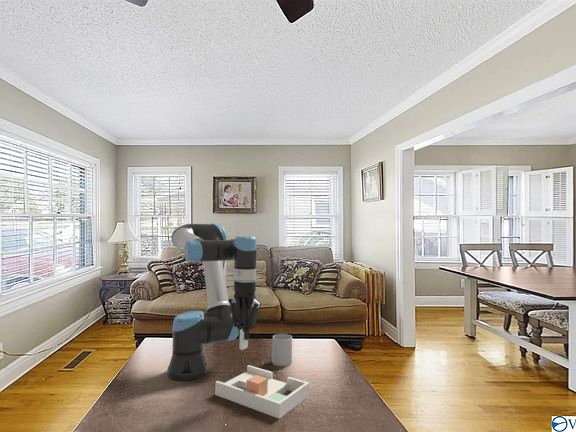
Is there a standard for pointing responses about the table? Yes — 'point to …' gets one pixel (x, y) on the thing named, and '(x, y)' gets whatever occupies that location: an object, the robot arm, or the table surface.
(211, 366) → the table surface
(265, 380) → the block
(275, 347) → the mug
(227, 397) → the box
